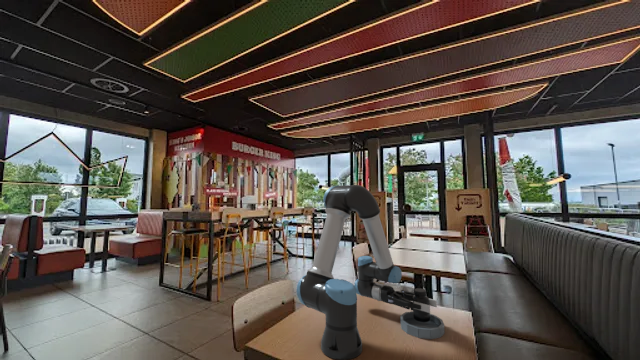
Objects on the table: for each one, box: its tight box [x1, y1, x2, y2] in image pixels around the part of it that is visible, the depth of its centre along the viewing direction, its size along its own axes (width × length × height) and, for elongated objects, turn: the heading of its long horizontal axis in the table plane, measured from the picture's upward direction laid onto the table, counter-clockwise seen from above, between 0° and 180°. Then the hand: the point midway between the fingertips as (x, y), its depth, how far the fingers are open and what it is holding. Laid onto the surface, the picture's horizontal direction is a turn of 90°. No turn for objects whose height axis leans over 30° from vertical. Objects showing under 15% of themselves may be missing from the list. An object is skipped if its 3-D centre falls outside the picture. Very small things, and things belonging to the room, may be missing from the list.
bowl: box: [400, 310, 445, 340], centre depth 112 cm, size 17×17×4 cm
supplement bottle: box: [412, 288, 431, 322], centre depth 113 cm, size 7×7×12 cm
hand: (433, 306), depth 109 cm, fingers closed on supplement bottle, 7 cm apart
